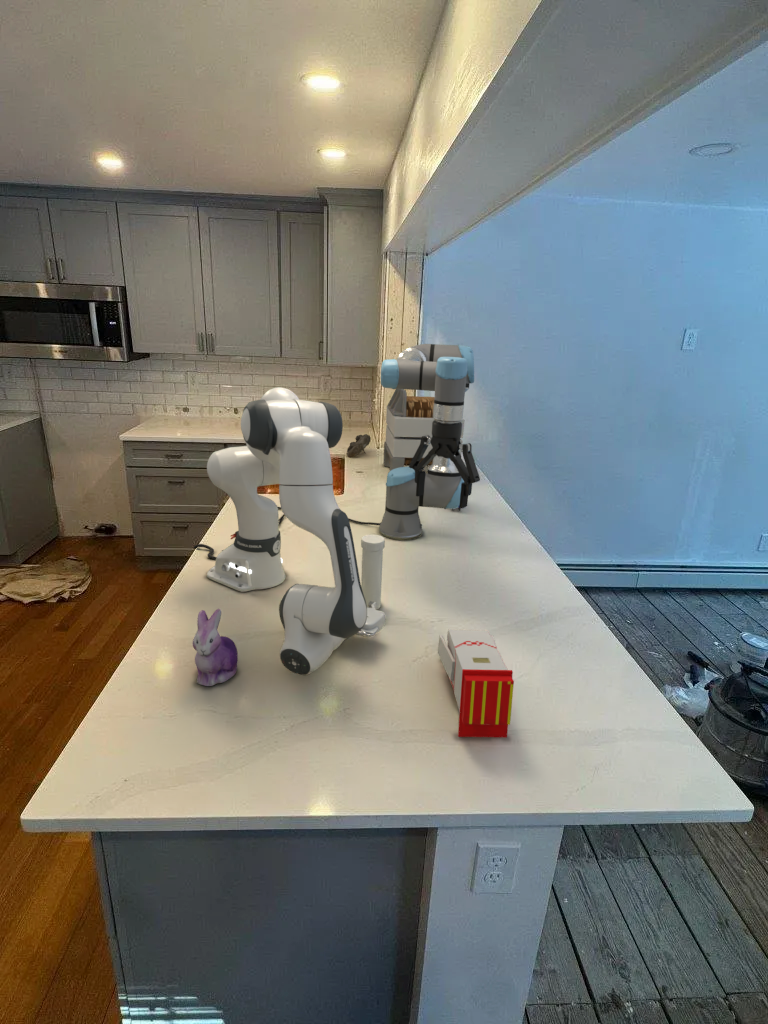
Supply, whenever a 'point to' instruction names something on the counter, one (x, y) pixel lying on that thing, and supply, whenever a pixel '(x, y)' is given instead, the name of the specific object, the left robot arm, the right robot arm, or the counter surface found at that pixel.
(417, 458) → the right robot arm
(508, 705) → the toy
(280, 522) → the feather
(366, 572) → the bottle
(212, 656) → the figurine
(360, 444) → the fossil
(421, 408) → the stacking storage bins
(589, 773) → the counter surface
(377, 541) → the lid
